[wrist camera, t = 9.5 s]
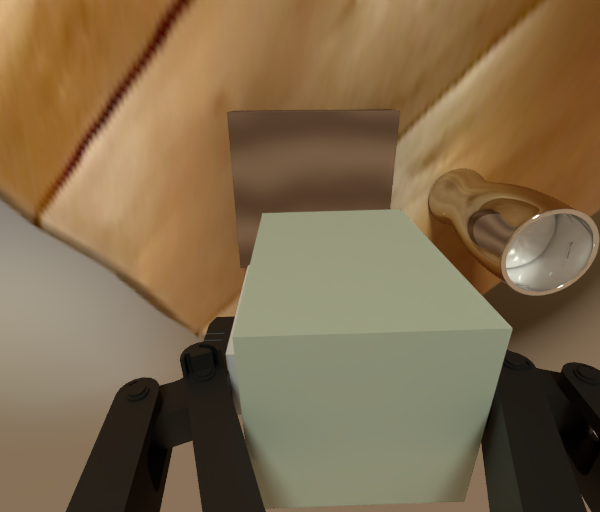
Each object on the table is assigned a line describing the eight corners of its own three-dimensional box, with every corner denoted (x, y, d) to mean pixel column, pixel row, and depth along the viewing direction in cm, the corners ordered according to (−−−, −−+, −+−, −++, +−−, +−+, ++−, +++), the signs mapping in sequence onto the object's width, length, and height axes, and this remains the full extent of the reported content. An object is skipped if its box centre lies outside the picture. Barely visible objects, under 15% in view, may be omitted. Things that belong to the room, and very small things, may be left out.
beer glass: (449, 151, 36) (547, 187, 22) (503, 181, 37) (626, 232, 24) (411, 211, 38) (477, 276, 25) (463, 237, 40) (552, 312, 26)
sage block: (262, 213, 18) (232, 337, 9) (400, 209, 18) (512, 328, 9) (270, 327, 21) (253, 509, 12) (389, 323, 21) (464, 501, 12)
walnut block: (234, 110, 34) (227, 112, 31) (388, 109, 34) (399, 110, 31) (245, 252, 40) (240, 267, 37) (375, 250, 41) (384, 265, 37)
